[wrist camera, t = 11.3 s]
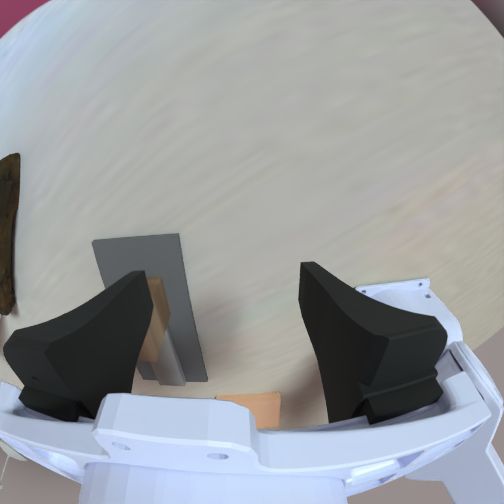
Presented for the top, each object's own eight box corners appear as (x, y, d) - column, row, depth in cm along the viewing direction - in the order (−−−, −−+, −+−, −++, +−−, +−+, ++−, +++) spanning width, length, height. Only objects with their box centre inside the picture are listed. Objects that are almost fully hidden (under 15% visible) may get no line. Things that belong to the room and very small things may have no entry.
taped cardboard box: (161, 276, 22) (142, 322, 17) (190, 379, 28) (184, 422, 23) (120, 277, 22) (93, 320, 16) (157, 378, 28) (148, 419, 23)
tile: (280, 399, 30) (278, 426, 33) (279, 389, 31) (277, 417, 35) (215, 403, 29) (224, 429, 33) (216, 392, 31) (224, 420, 34)
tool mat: (178, 233, 21) (177, 235, 20) (207, 378, 29) (207, 381, 28) (94, 240, 21) (91, 242, 20) (144, 376, 29) (143, 379, 28)
